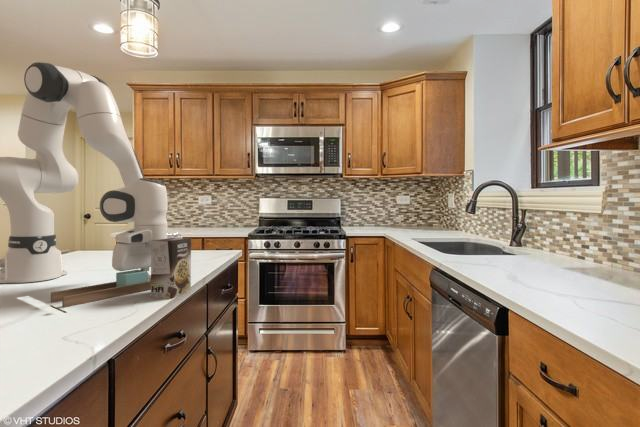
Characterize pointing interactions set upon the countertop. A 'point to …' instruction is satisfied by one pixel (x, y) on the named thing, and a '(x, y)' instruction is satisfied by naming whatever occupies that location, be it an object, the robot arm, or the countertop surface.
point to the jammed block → (130, 277)
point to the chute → (96, 293)
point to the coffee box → (170, 267)
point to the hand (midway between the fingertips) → (150, 281)
